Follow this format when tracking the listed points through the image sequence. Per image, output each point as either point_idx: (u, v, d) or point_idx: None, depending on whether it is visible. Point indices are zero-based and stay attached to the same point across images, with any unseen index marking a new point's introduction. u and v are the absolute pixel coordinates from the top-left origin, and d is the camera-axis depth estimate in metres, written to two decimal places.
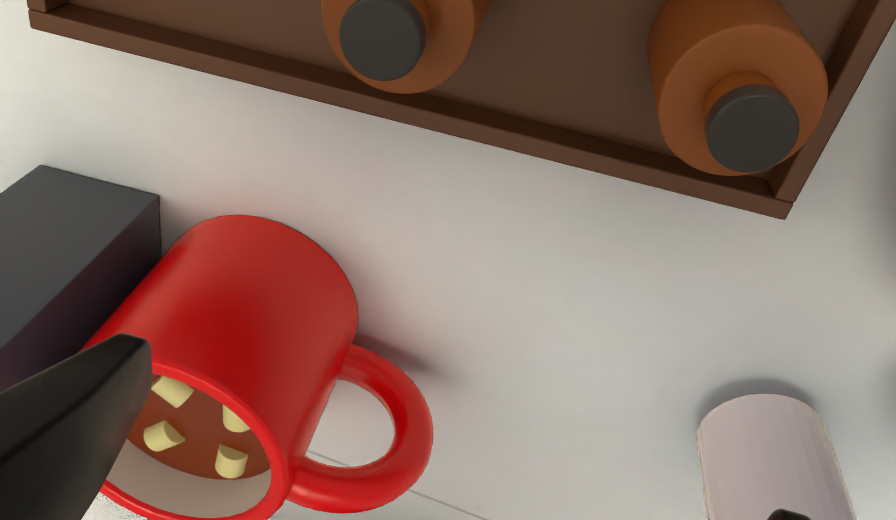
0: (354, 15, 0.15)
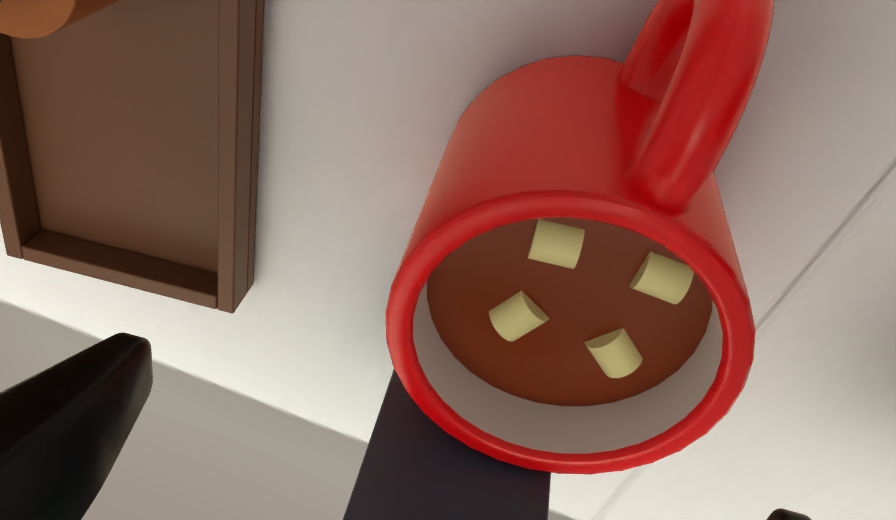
0: None
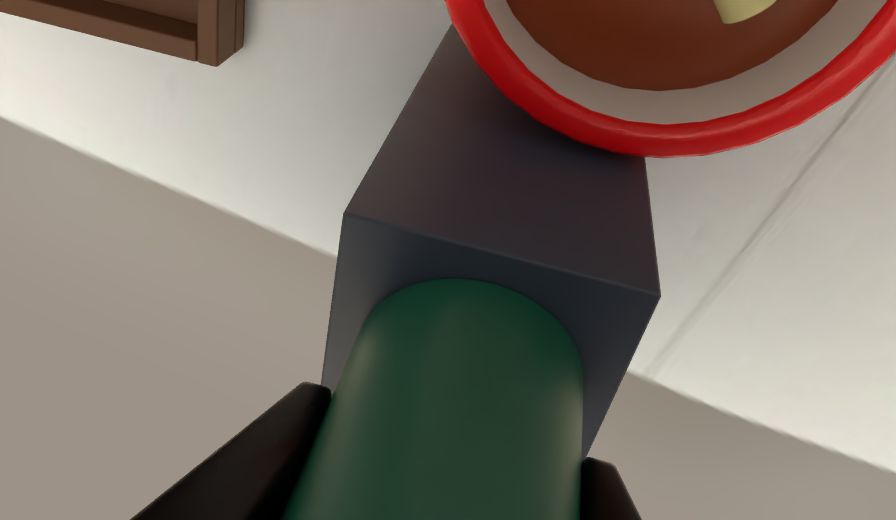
0: None
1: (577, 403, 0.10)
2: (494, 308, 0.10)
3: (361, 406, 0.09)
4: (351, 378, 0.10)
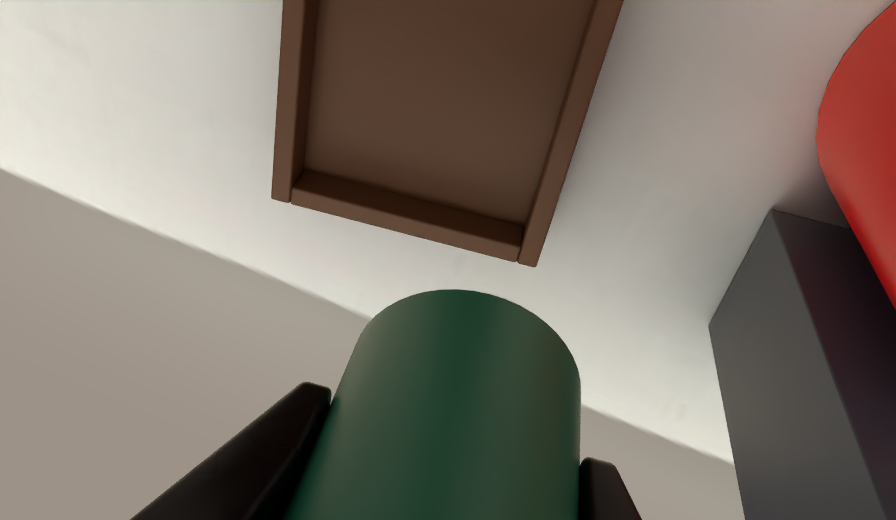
0: None
1: (574, 414, 0.10)
2: (491, 319, 0.10)
3: (358, 417, 0.09)
4: (348, 389, 0.10)
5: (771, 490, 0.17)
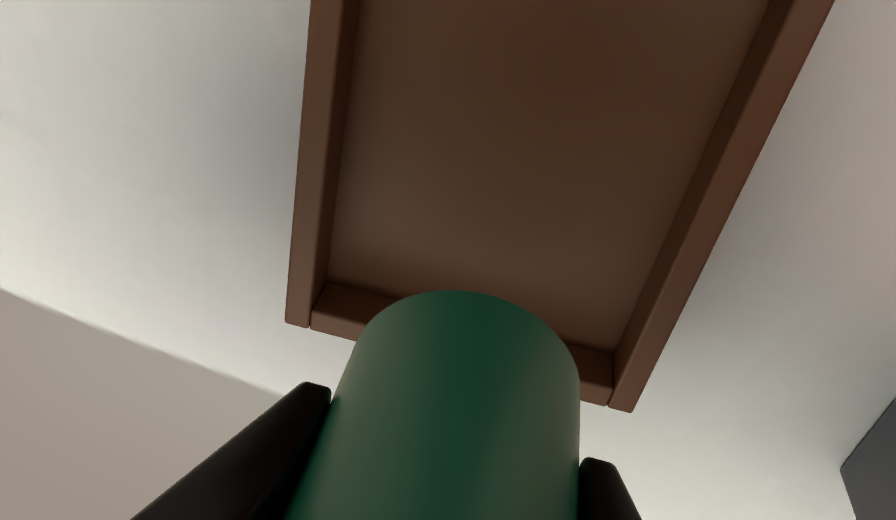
0: None
1: (574, 414, 0.10)
2: (491, 320, 0.10)
3: (358, 418, 0.09)
4: (348, 390, 0.10)
5: None
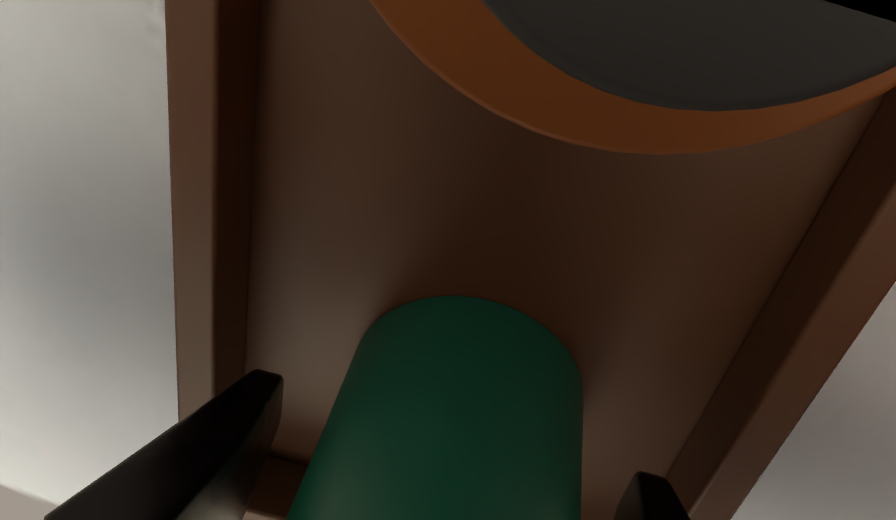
0: None
1: (577, 422, 0.10)
2: (492, 327, 0.10)
3: (357, 429, 0.09)
4: (348, 399, 0.09)
5: None
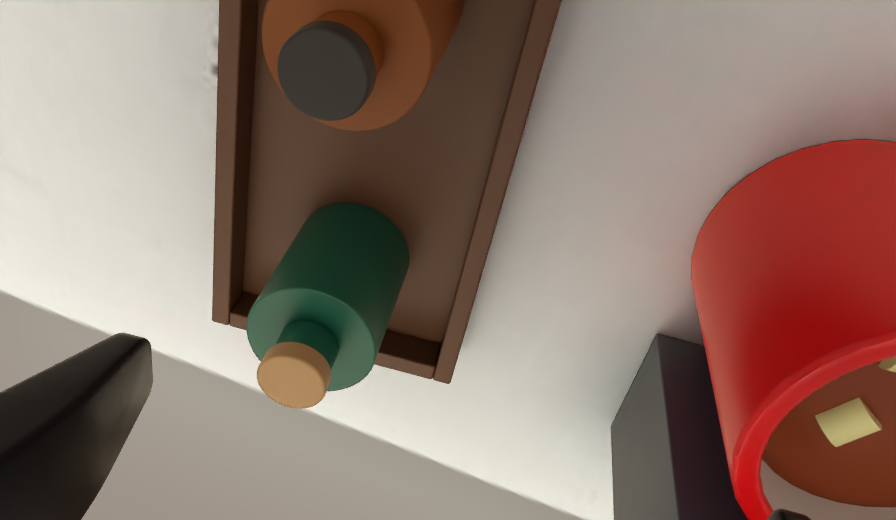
0: (299, 101, 0.14)
1: (398, 258, 0.22)
2: (359, 214, 0.22)
3: (295, 251, 0.21)
4: (292, 244, 0.21)
5: None
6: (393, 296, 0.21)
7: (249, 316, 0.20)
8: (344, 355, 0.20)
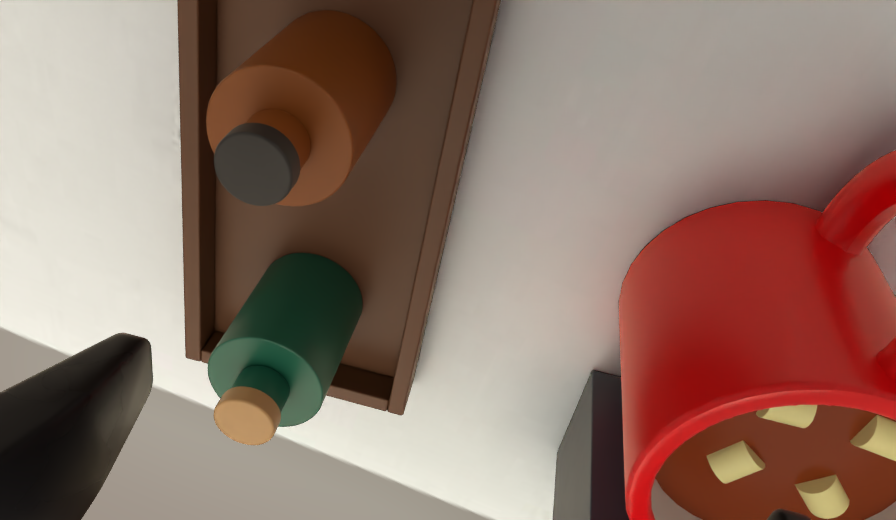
0: (233, 189, 0.16)
1: (349, 304, 0.24)
2: (313, 264, 0.24)
3: (252, 300, 0.23)
4: (252, 292, 0.24)
5: None
6: (343, 340, 0.23)
7: (209, 361, 0.22)
8: (295, 396, 0.22)
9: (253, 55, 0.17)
